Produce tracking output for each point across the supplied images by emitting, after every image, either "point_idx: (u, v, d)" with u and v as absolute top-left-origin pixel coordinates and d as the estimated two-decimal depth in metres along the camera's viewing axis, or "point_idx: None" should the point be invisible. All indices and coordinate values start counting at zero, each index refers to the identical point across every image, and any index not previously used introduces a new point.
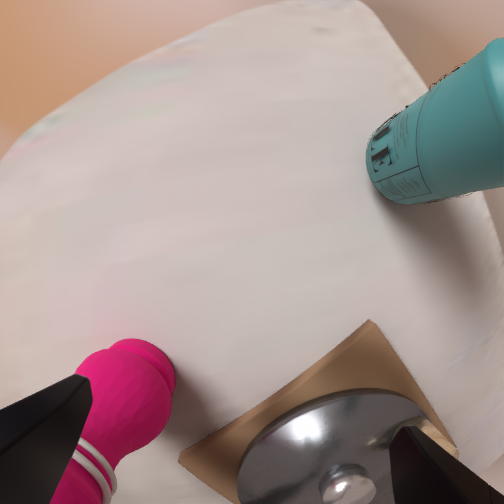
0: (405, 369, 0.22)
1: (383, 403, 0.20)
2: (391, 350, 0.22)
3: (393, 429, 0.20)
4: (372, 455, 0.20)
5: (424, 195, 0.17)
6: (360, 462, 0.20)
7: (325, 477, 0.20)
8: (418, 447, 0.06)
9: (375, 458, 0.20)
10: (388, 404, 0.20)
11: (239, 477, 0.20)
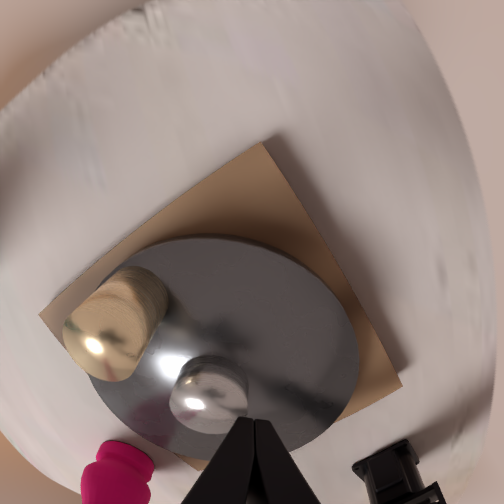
0: (75, 283, 0.18)
1: None
2: (56, 300, 0.19)
3: None
4: (167, 350, 0.17)
5: None
6: (177, 364, 0.18)
7: None
8: (255, 446, 0.06)
9: (174, 346, 0.17)
10: None
11: (190, 456, 0.21)
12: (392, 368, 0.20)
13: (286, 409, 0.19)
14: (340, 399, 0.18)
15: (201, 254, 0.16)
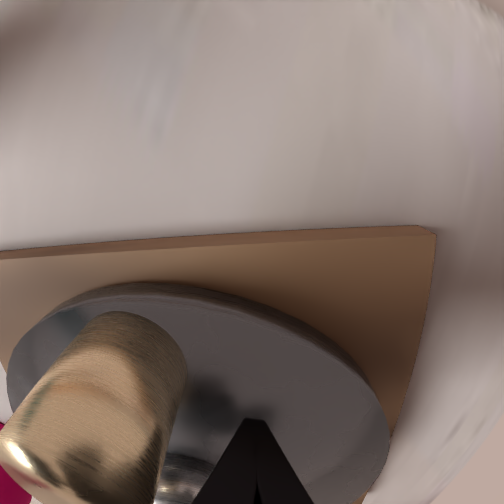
0: (34, 260, 0.10)
1: (24, 358, 0.09)
2: None
3: None
4: None
5: None
6: None
7: None
8: (249, 445, 0.06)
9: None
10: (28, 354, 0.09)
11: None
12: (362, 498, 0.15)
13: None
14: None
15: (277, 357, 0.09)
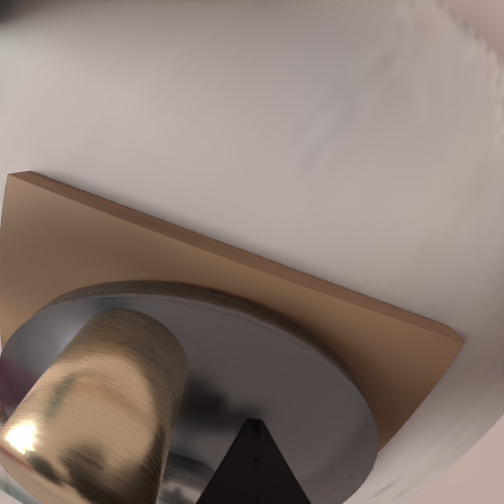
0: (116, 220, 0.09)
1: (18, 349, 0.09)
2: (57, 199, 0.09)
3: None
4: None
5: None
6: None
7: None
8: (246, 445, 0.06)
9: None
10: (24, 344, 0.09)
11: None
12: None
13: None
14: None
15: (278, 363, 0.09)
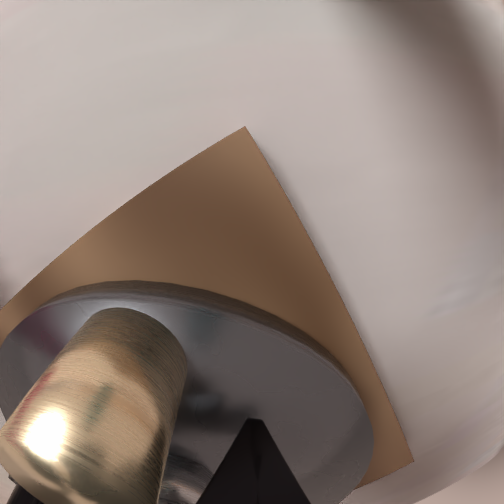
0: (324, 273, 0.10)
1: (16, 346, 0.09)
2: (286, 208, 0.09)
3: None
4: None
5: None
6: None
7: None
8: (246, 445, 0.06)
9: None
10: (22, 342, 0.09)
11: None
12: None
13: None
14: None
15: (277, 363, 0.09)
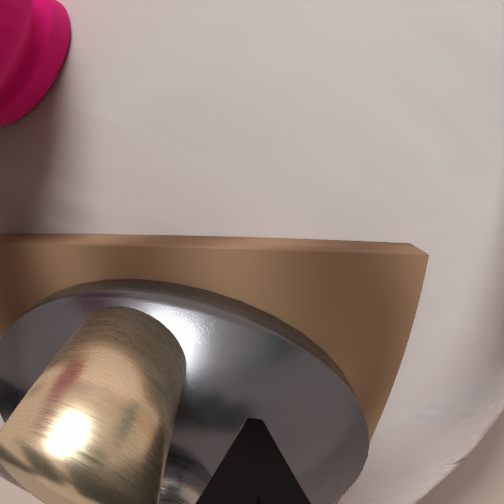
0: (395, 372, 0.12)
1: (14, 343, 0.09)
2: (409, 322, 0.11)
3: None
4: None
5: None
6: None
7: None
8: (246, 445, 0.06)
9: None
10: (20, 339, 0.09)
11: None
12: None
13: None
14: None
15: (276, 364, 0.09)
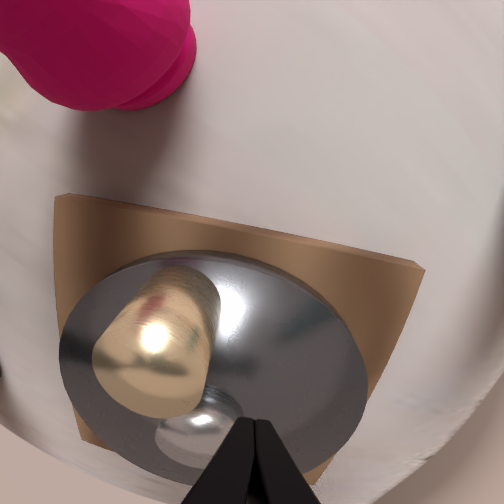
0: (390, 353, 0.16)
1: (86, 308, 0.14)
2: (405, 316, 0.16)
3: None
4: None
5: None
6: None
7: None
8: (255, 446, 0.06)
9: None
10: (92, 304, 0.14)
11: (126, 458, 0.17)
12: (107, 448, 0.20)
13: None
14: (307, 465, 0.17)
15: (284, 299, 0.13)
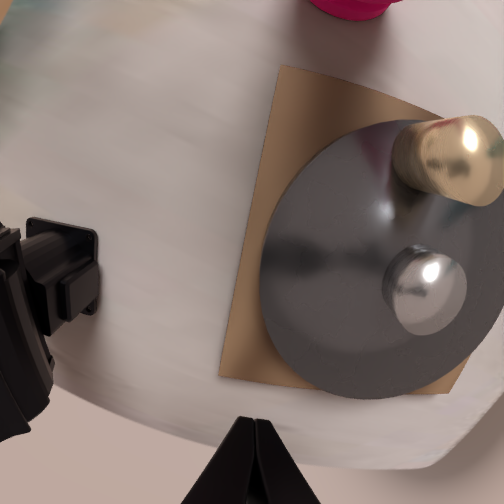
0: None
1: (332, 159, 0.14)
2: None
3: (390, 173, 0.15)
4: (408, 223, 0.15)
5: None
6: (404, 243, 0.16)
7: (384, 297, 0.16)
8: (255, 446, 0.06)
9: (416, 222, 0.15)
10: (340, 154, 0.14)
11: (300, 374, 0.18)
12: (253, 380, 0.21)
13: (438, 339, 0.17)
14: (469, 347, 0.18)
15: None
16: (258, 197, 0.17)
